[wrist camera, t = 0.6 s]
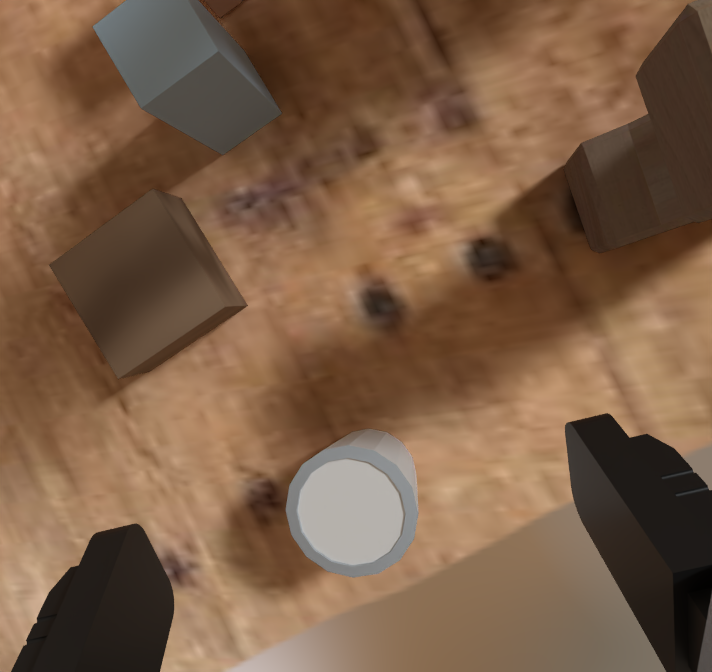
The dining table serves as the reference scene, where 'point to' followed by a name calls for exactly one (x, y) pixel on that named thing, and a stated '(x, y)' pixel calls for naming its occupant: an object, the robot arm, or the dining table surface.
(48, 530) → the dining table surface
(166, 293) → the walnut plinth
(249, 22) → the dining table surface
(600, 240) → the decorative block
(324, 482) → the white short cylinder
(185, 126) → the blue pillar
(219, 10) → the terracotta pillar
